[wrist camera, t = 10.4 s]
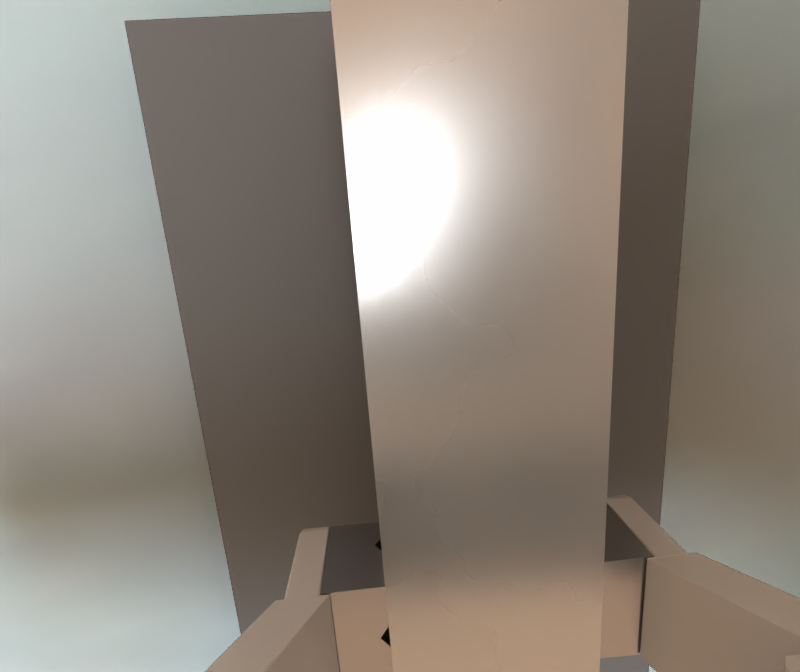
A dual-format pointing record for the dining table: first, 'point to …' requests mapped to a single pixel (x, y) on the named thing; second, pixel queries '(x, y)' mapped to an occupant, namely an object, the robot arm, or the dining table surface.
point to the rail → (487, 315)
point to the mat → (336, 277)
